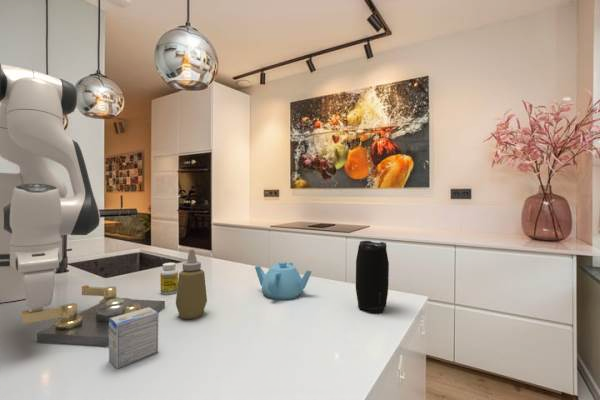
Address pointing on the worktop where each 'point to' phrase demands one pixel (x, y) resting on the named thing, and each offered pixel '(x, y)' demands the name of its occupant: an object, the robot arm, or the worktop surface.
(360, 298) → the portable speaker
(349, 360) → the worktop surface
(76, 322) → the lever
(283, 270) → the teapot
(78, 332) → the levelling base
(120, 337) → the medicine box
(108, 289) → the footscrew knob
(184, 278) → the squeeze bottle
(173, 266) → the supplement bottle
